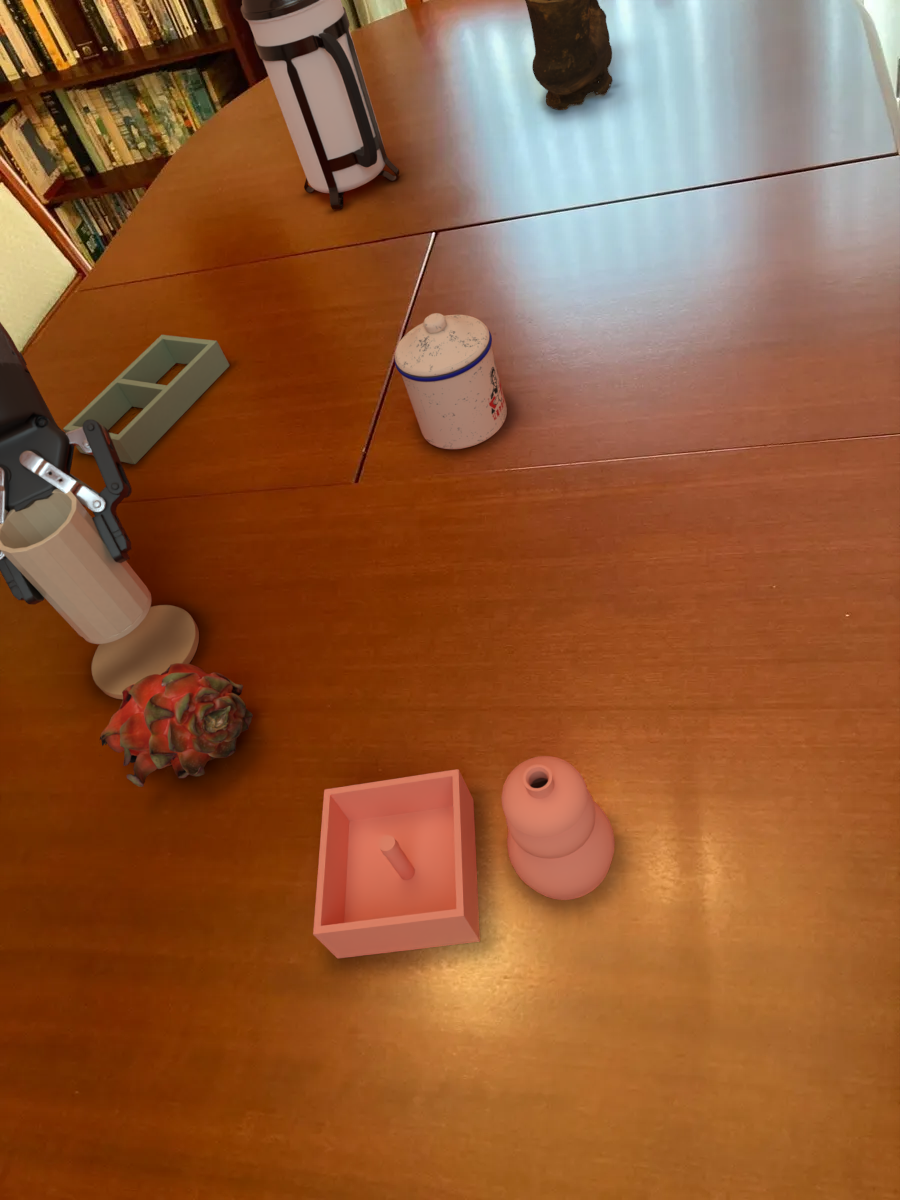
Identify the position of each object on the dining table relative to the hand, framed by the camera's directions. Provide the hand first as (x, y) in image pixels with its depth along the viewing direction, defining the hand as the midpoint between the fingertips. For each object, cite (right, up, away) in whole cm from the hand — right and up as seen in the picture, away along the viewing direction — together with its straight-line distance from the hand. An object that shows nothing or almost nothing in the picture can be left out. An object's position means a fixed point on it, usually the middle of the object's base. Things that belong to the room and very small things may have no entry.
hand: (79, 580), depth 67 cm
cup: (+1, -3, +5) cm, 6 cm away
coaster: (+2, -6, +9) cm, 11 cm away
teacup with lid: (+29, +17, +20) cm, 39 cm away
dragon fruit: (+9, -13, +1) cm, 16 cm away
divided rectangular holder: (-6, +21, +35) cm, 41 cm away
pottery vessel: (+47, +73, +63) cm, 108 cm away
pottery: (+30, -19, -11) cm, 37 cm away
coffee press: (+15, +58, +61) cm, 86 cm away
